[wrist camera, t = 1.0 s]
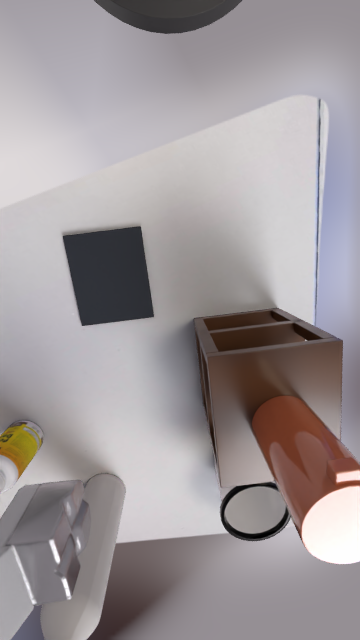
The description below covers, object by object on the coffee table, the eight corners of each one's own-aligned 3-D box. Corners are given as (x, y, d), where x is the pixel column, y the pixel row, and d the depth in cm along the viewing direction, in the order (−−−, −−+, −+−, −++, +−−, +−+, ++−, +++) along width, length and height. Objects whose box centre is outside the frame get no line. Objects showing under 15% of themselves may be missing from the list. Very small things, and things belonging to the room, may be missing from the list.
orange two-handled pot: (249, 391, 25) (299, 480, 15) (312, 383, 25) (404, 467, 15) (253, 464, 26) (301, 585, 17) (312, 457, 27) (394, 574, 17)
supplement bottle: (27, 411, 41) (-19, 462, 31) (52, 437, 42) (15, 494, 32) (0, 431, 42) (-54, 487, 32) (25, 456, 43) (-19, 517, 33)
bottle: (108, 513, 46) (15, 893, 19) (76, 492, 45) (-72, 864, 17) (134, 488, 45) (75, 852, 18) (102, 466, 44) (-13, 819, 16)
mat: (64, 236, 35) (62, 235, 35) (140, 226, 35) (140, 226, 35) (83, 325, 38) (81, 326, 38) (153, 316, 38) (153, 317, 38)
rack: (193, 318, 38) (207, 357, 24) (278, 307, 38) (343, 340, 24) (203, 406, 42) (220, 488, 27) (281, 396, 42) (340, 473, 27)
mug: (217, 433, 43) (228, 479, 34) (274, 440, 43) (301, 487, 35) (203, 495, 45) (210, 553, 37) (257, 501, 46) (278, 559, 37)
